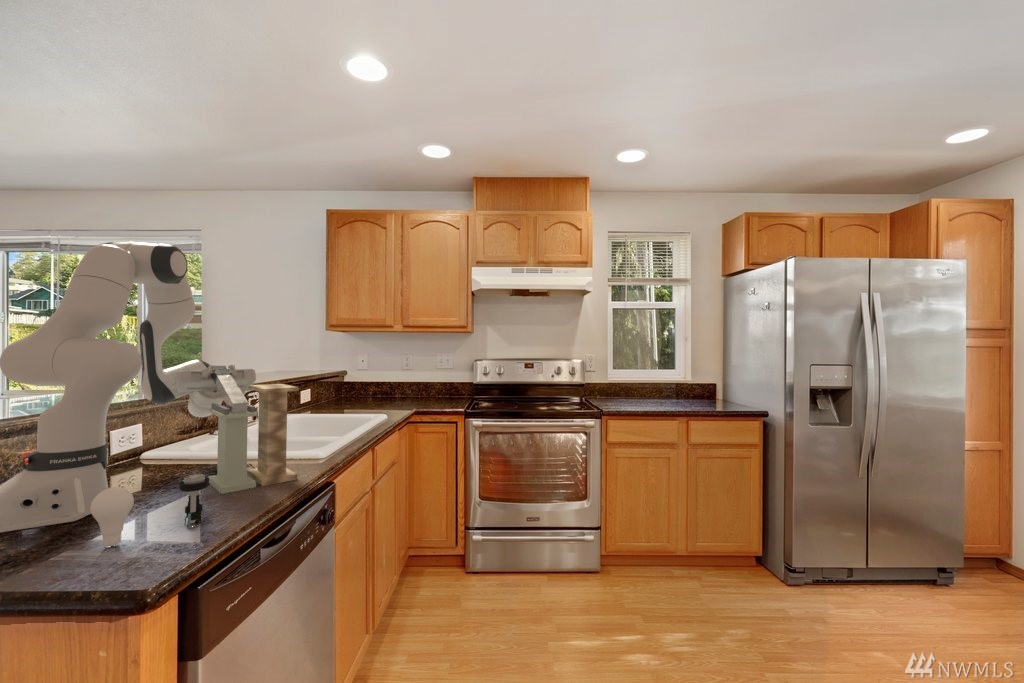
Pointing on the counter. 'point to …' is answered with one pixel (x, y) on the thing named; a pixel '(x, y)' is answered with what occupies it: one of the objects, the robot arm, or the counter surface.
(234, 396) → the aluminium bar
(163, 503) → the counter surface
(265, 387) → the stone pillar pedestal
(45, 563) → the counter surface
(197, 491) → the push button
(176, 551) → the counter surface
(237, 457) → the pale green pedestal
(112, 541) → the lightbulb
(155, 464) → the counter surface
